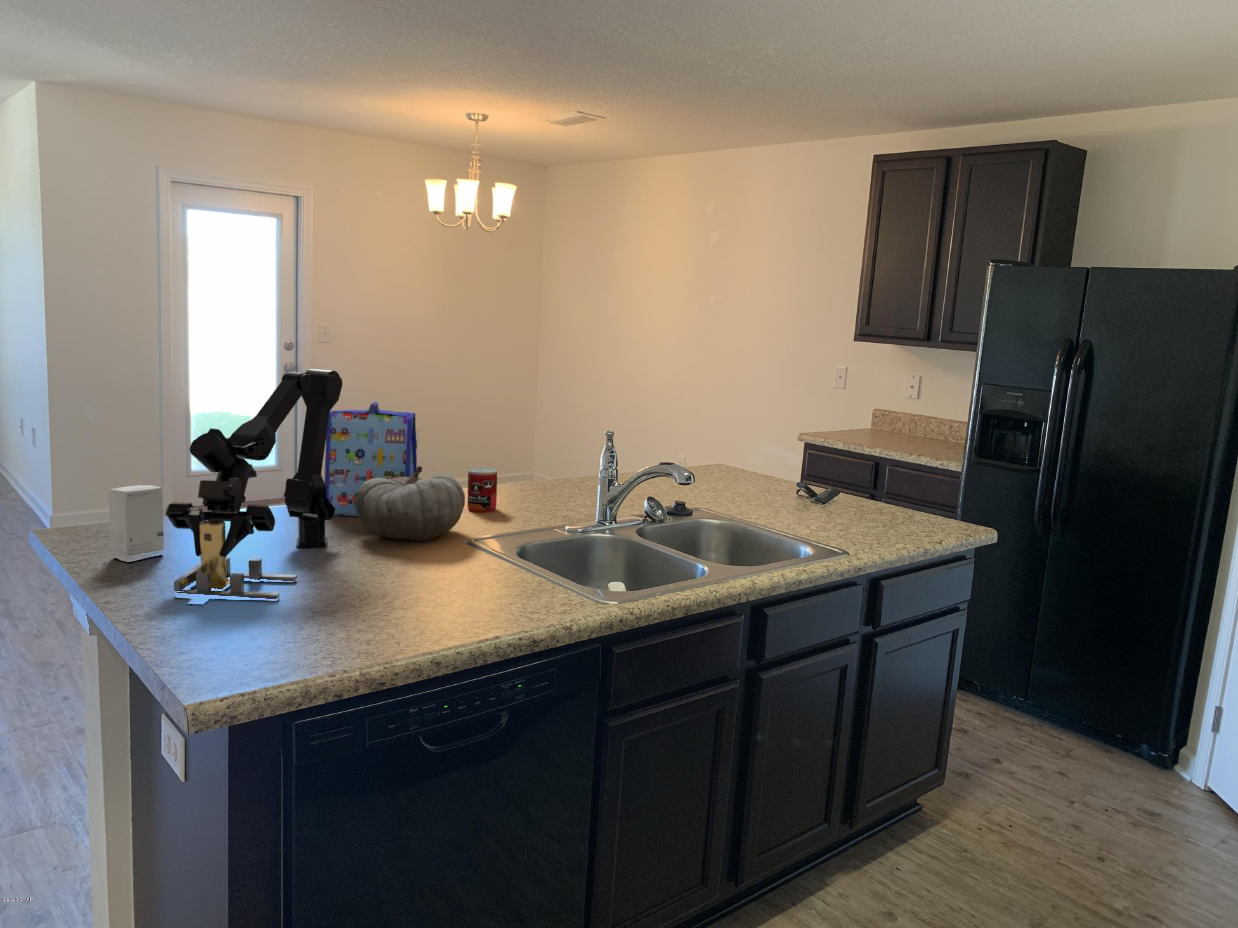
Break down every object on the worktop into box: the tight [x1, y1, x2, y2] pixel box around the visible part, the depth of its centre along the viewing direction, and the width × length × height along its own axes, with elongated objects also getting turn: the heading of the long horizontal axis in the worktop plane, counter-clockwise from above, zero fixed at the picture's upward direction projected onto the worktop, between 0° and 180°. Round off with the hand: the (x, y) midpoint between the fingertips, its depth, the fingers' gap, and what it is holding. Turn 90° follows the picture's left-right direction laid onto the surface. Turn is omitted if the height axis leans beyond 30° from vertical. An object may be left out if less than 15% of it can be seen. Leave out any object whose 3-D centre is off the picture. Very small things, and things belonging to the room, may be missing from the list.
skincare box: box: [108, 484, 165, 556], centre depth 184 cm, size 8×6×15 cm
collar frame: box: [173, 557, 298, 599], centre depth 167 cm, size 16×18×4 cm
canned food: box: [467, 466, 498, 513], centre depth 242 cm, size 8×8×11 cm
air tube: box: [199, 520, 230, 589], centre depth 167 cm, size 5×5×12 cm
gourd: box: [355, 465, 466, 542], centre depth 211 cm, size 25×25×17 cm
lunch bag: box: [324, 401, 418, 517], centre depth 231 cm, size 22×14×29 cm, turn 92°
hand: (210, 555), depth 166 cm, fingers closed on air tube, 4 cm apart
